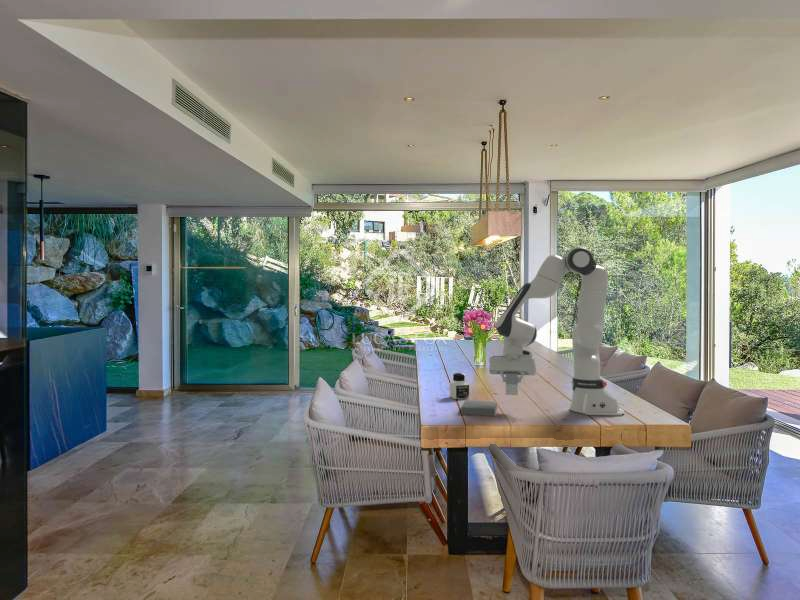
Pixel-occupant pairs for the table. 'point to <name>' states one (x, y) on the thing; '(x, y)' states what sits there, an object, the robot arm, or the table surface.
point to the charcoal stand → (479, 408)
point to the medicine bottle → (459, 387)
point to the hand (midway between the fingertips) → (511, 381)
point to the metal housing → (511, 383)
